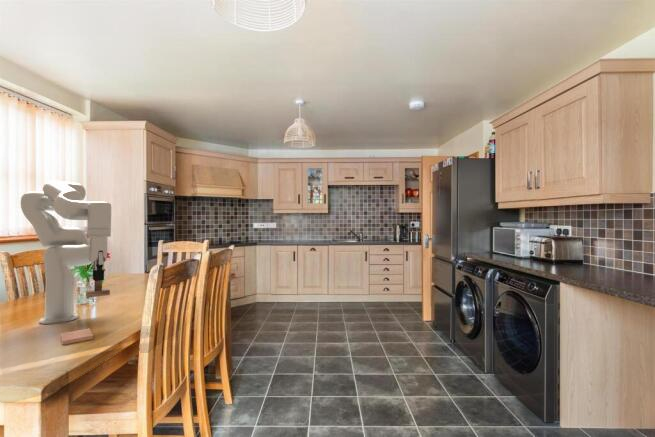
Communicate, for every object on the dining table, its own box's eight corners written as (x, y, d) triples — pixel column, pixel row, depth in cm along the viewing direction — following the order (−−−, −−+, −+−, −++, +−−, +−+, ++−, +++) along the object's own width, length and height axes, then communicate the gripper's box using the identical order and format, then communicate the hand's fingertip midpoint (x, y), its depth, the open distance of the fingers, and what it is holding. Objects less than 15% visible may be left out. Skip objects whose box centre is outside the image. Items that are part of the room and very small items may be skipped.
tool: (86, 295, 121) (87, 259, 122) (108, 293, 126) (108, 258, 126) (87, 297, 118) (88, 260, 119) (109, 294, 123) (110, 259, 124)
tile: (60, 333, 110) (62, 340, 103) (89, 328, 115) (92, 335, 108) (60, 337, 110) (62, 345, 103) (89, 332, 115) (92, 339, 108)
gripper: (84, 232, 126) (83, 278, 126) (89, 233, 114) (88, 284, 114) (107, 232, 131) (106, 276, 131) (114, 233, 120) (113, 281, 119)
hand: (98, 279), depth 122 cm, fingers closed on tool, 2 cm apart
